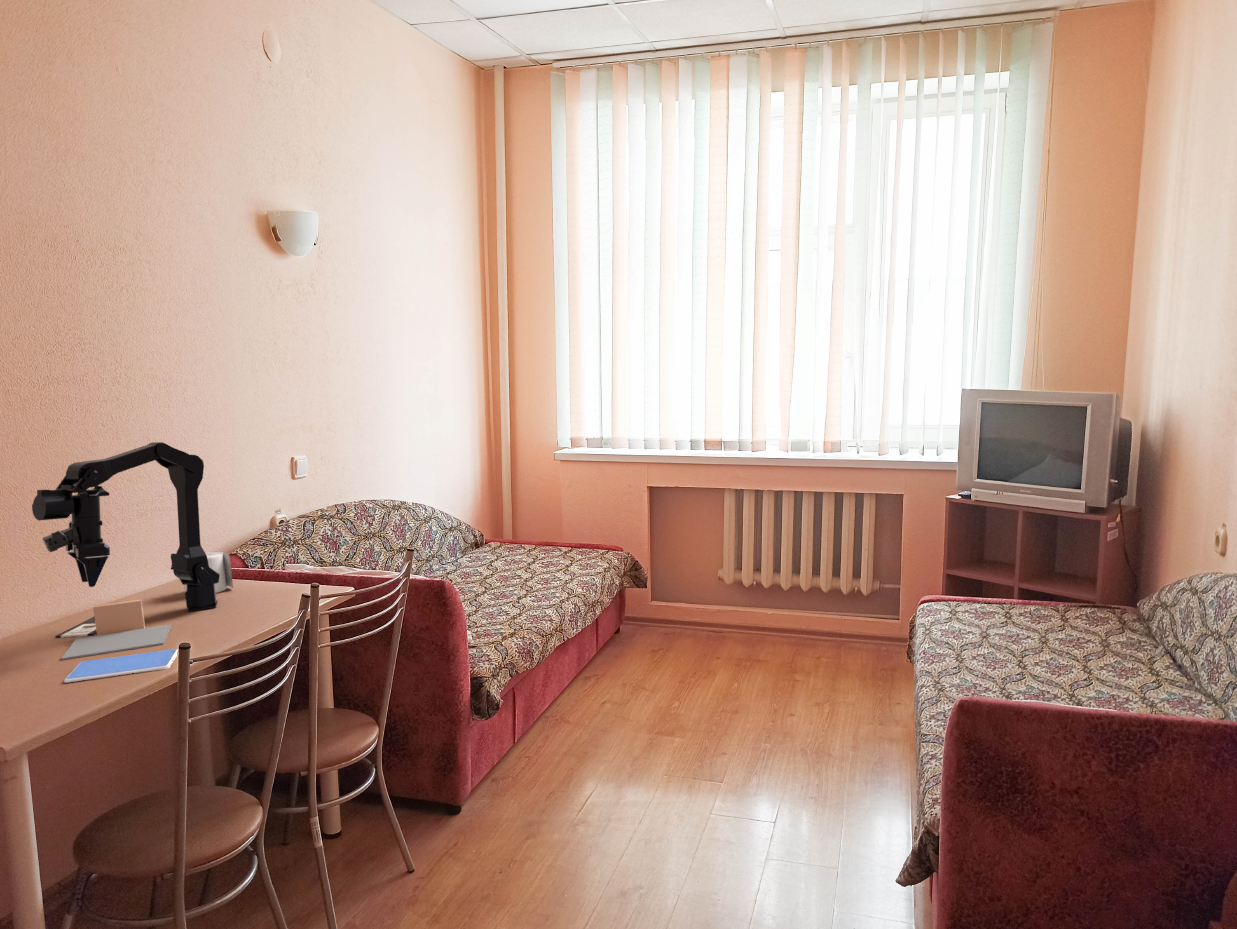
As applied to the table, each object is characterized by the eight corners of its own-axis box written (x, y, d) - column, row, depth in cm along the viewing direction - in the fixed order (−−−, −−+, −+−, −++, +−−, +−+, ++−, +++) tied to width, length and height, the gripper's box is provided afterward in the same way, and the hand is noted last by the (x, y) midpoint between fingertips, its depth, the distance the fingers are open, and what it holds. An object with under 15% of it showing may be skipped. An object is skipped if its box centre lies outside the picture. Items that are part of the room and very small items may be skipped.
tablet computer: (180, 653, 198) (179, 647, 198) (169, 671, 186) (168, 664, 186) (81, 667, 193) (80, 661, 193) (63, 686, 181) (62, 680, 181)
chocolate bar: (133, 612, 232) (92, 633, 214) (134, 615, 232) (93, 637, 215) (98, 614, 232) (55, 636, 215) (99, 617, 233) (55, 639, 215)
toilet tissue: (184, 591, 254) (179, 556, 253) (230, 583, 260) (226, 549, 258) (186, 599, 245) (181, 562, 243) (233, 591, 250) (229, 555, 249)
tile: (145, 627, 219) (141, 599, 218) (144, 629, 217) (140, 600, 217) (98, 634, 216) (94, 605, 215) (97, 636, 214) (93, 607, 213)
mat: (171, 625, 218) (171, 624, 218) (163, 644, 203) (163, 642, 203) (76, 640, 212) (76, 638, 212) (61, 660, 197) (61, 658, 197)
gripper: (39, 516, 211) (41, 583, 211) (50, 522, 196) (53, 593, 197) (94, 513, 218) (96, 578, 218) (109, 518, 203) (111, 587, 204)
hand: (88, 584), depth 209 cm, fingers open, 9 cm apart
